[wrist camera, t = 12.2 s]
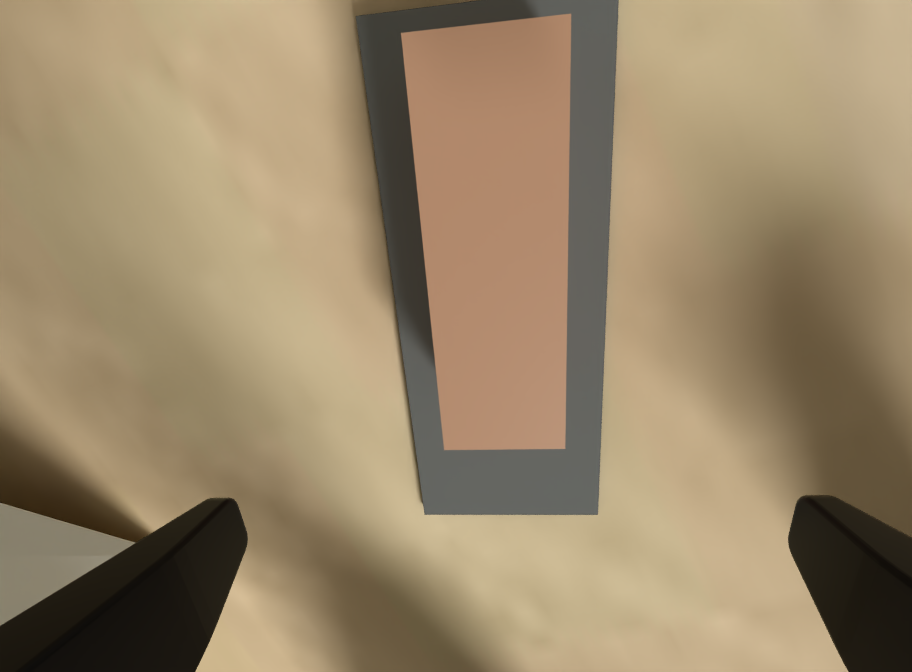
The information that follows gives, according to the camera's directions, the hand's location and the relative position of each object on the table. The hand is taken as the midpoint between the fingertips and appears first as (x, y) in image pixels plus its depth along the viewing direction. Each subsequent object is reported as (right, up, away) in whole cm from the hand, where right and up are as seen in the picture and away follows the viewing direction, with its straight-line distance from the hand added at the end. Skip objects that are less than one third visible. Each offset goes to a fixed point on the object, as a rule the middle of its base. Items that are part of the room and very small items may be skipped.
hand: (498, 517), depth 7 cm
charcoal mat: (+1, +4, +11) cm, 11 cm away
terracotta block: (+1, 0, +10) cm, 10 cm away
